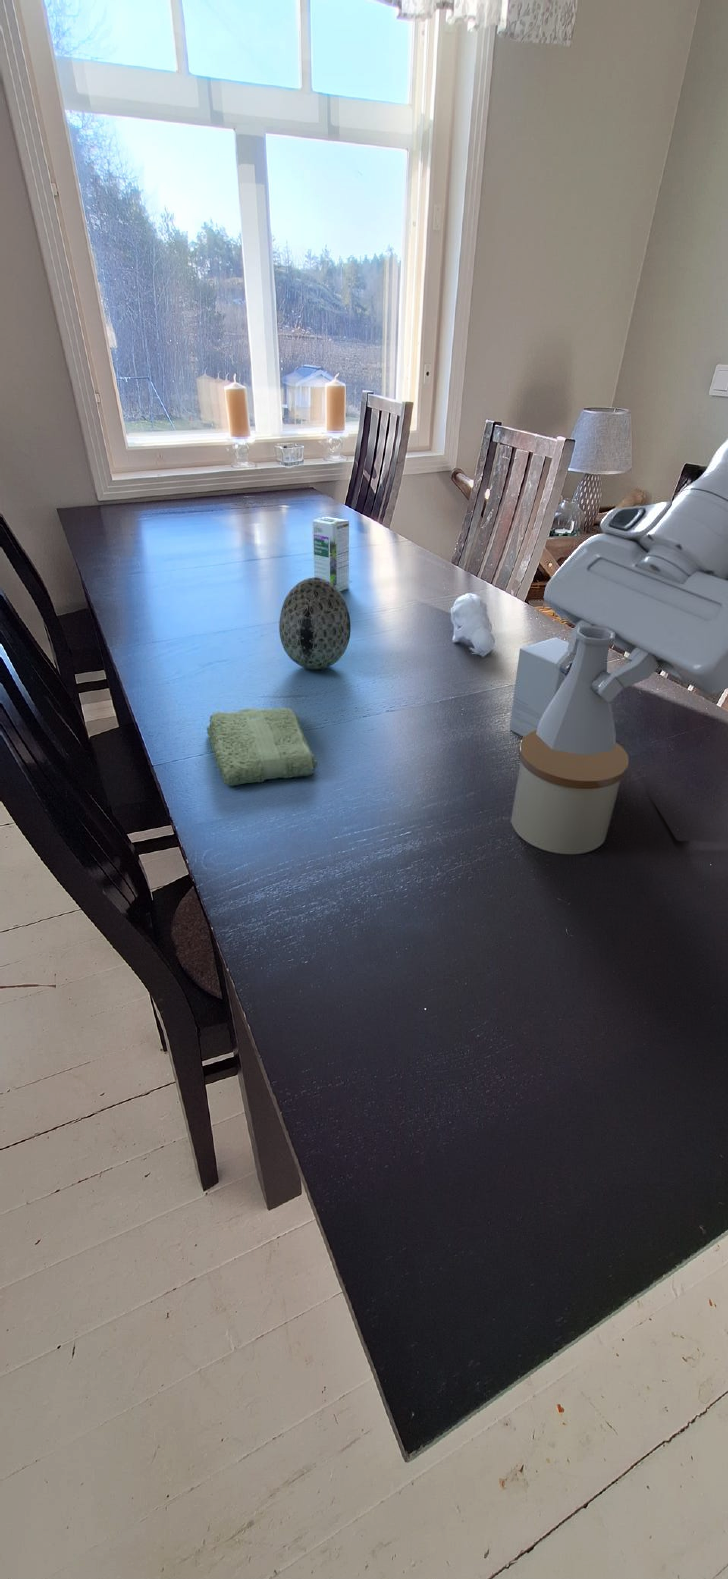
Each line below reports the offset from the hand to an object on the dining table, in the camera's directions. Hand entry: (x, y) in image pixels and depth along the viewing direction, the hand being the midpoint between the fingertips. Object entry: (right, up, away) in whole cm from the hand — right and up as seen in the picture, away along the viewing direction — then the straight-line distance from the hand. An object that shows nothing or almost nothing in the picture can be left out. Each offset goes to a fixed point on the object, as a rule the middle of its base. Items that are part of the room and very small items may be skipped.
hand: (580, 684), depth 60 cm
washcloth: (-33, -4, +35) cm, 48 cm away
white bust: (+1, +16, +66) cm, 68 cm away
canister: (+4, -13, +22) cm, 26 cm away
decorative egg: (-27, +12, +58) cm, 65 cm away
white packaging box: (+7, -1, +40) cm, 41 cm away
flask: (+1, -5, +3) cm, 6 cm away
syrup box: (-26, +35, +92) cm, 101 cm away
